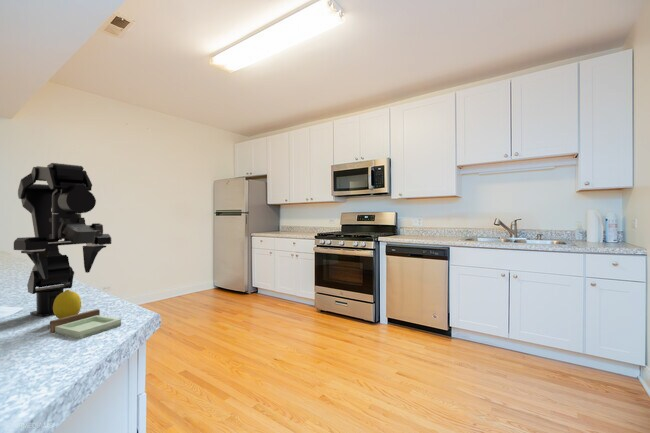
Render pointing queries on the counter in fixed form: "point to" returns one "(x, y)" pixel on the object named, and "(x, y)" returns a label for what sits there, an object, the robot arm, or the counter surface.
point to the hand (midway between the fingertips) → (67, 275)
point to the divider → (72, 319)
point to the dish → (87, 326)
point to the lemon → (66, 304)
